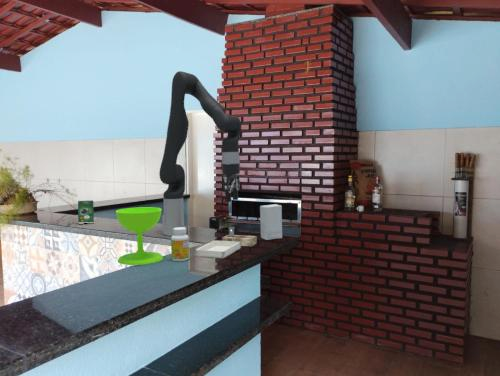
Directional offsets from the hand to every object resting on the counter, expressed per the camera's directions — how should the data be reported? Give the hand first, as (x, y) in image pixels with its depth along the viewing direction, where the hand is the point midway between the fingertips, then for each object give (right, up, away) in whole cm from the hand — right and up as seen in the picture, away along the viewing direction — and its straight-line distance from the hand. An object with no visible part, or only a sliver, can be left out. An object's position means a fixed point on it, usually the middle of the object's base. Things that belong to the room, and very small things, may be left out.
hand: (232, 200), depth 179 cm
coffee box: (-84, -15, +55) cm, 101 cm away
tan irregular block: (+3, -18, -4) cm, 19 cm away
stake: (0, -18, -2) cm, 18 cm away
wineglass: (-32, -21, -27) cm, 47 cm away
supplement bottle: (-17, -20, -28) cm, 39 cm away
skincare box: (+17, -17, +8) cm, 25 cm away
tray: (-4, -19, -18) cm, 27 cm away
